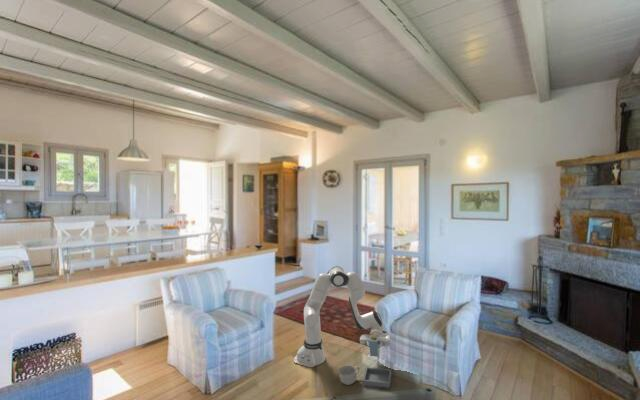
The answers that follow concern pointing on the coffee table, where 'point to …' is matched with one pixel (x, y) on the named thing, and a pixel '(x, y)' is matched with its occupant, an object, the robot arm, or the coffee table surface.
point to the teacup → (348, 374)
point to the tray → (377, 377)
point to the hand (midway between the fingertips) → (373, 346)
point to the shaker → (374, 346)
